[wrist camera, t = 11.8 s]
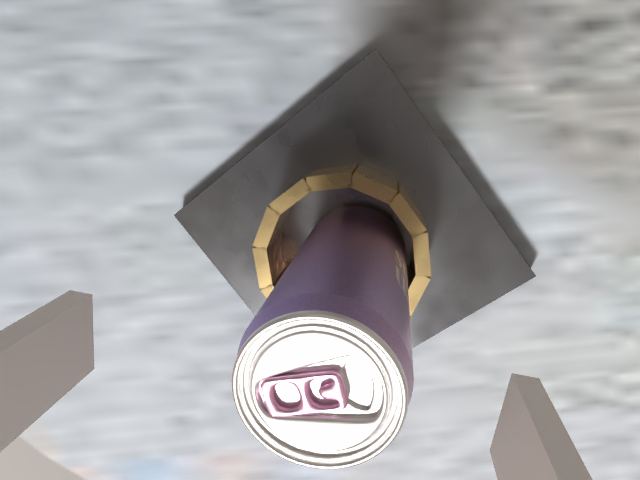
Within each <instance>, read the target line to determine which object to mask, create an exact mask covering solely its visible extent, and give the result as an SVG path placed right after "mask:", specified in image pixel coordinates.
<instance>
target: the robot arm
mask: <svg viewBox="0 0 640 480" xmlns="http://www.w3.org/2000/svg"><path fill="white" fill-rule="evenodd" d="M93 369H94V344H93V306H92V294H87V293H82V292H76V291H71V290H70V291H68V292H66V293H65V294H63V295H61V296H60V297H58V298H56V299H54V300H53V301H51V302H49V303H48V304H46V305H44V306H42V307H41V308H39V309H37V310H35V311H34V312H32V313H30V314H29V315H27V316H25V317H23V318H22V319H20V320H18V321H17V322H15V323H13V324H11V325H10V326H8V327H6V328H5V329H3V330H1V331H0V452H1V451H2V450H3V449H4V448H5V447H7V446H8V445H9V444H10V443H11V442H12V441H13V440H14V439H16V438H17V437H18V436H19V435H20V434H21V433H22V432H23V431H25V430H26V429H27V428H28V427H29V426H30V425H31V424H32V423H34V422H35V421H36V420H37V419H38V418H39V417H40V416H41V415H43V414H44V413H45V412H46V411H47V410H48V409H49V408H50V407H52V406H53V405H54V404H55V403H56V402H57V401H58V400H59V399H61V398H62V397H63V396H64V395H65V394H66V393H67V392H68V391H70V390H71V389H72V388H73V387H74V386H75V385H76V384H77V383H79V382H80V381H81V380H82V379H83V378H84V377H85V376H86V375H88V374H89V373H90V372H91V371H92V370H93ZM490 453H491V457H492V460H493V464H494V468H495V471H496V475H497V478H498V480H592V478H591V476H590V474H589V473H588V471H587V469H586V467H585V465H584V463H583V461H582V459H581V457H580V455H579V453H578V452H577V450H576V448H575V446H574V444H573V442H572V440H571V438H570V436H569V434H568V433H567V431H566V429H565V427H564V425H563V423H562V421H561V419H560V417H559V415H558V414H557V412H556V410H555V408H554V406H553V404H552V402H551V400H550V398H549V396H548V394H547V393H546V391H545V389H544V387H543V385H542V383H541V381H540V379H539V378H534V377H528V376H523V375H518V374H512V375H511V378H510V382H509V385H508V389H507V392H506V396H505V399H504V403H503V406H502V410H501V413H500V416H499V420H498V423H497V427H496V430H495V434H494V437H493V441H492V444H491V448H490Z"/></svg>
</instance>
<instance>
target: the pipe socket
mask: <svg viewBox="0 0 640 480" xmlns="http://www.w3.org/2000/svg"><path fill="white" fill-rule="evenodd" d="M348 206H362V207H368V208H371V209H374V210H376V211H378V212H380V213H382V214H384V215H385V216H386V217H388V218H389V219H390V220H391V221H392V222H393V223H394V224H395V225H396V227H397V228H398V229H399V231H400V233H401V235H402V237H403V240H404V243H405V248H406V262H407V279H408V295H409V311H410V328H411V344H412V348H413V347H415V346H417V345H419V344H420V343H422V342H424V341H425V340H427V339H429V338H431V337H432V336H434V335H436V334H437V333H439V332H441V331H443V330H444V329H446V328H448V327H449V326H451V325H453V324H455V323H456V322H458V321H460V320H462V319H463V318H465V317H467V316H468V315H470V314H472V313H474V312H475V311H477V310H479V309H480V308H482V307H484V306H486V305H487V304H489V303H491V302H492V301H494V300H496V299H498V298H499V297H501V296H503V295H505V294H506V293H508V292H510V291H511V290H513V289H515V288H517V287H518V286H520V285H522V284H523V283H525V282H527V281H529V280H530V279H532V278H534V277H535V276H536V275H535V274H534V273H533V271H532V270H531V268H530V267H529V265H528V264H527V263H526V261H525V260H524V258H523V257H522V255H521V254H520V253H519V251H518V250H517V248H516V247H515V246H514V244H513V243H512V241H511V240H510V238H509V237H508V236H507V234H506V233H505V231H504V230H503V228H502V227H501V226H500V224H499V223H498V221H497V220H496V219H495V217H494V216H493V214H492V213H491V211H490V210H489V209H488V207H487V206H486V204H485V203H484V201H483V200H482V199H481V197H480V196H479V194H478V193H477V192H476V190H475V189H474V187H473V186H472V184H471V183H470V182H469V180H468V179H467V177H466V176H465V175H464V173H463V172H462V170H461V169H460V167H459V166H458V165H457V163H456V162H455V160H454V159H453V157H452V156H451V155H450V153H449V152H448V150H447V149H446V148H445V146H444V145H443V143H442V142H441V140H440V139H439V138H438V136H437V135H436V133H435V132H434V130H433V129H432V128H431V126H430V125H429V123H428V122H427V121H426V119H425V118H424V116H423V115H422V113H421V112H420V111H419V109H418V108H417V106H416V105H415V104H414V102H413V101H412V99H411V98H410V96H409V95H408V94H407V92H406V91H405V89H404V88H403V86H402V85H401V84H400V82H399V81H398V79H397V78H396V77H395V75H394V74H393V72H392V71H391V69H390V68H389V67H388V65H387V64H386V62H385V61H384V59H383V58H382V57H381V55H380V54H379V52H378V51H377V50H376V49H374V50H373V51H372V52H371V53H370V54H368V55H367V56H366V57H365V58H364V59H362V60H361V61H360V62H359V63H357V64H356V65H355V66H354V67H353V68H351V69H350V70H349V71H348V72H347V73H345V74H344V75H343V76H342V77H341V78H339V79H338V80H337V81H336V82H334V83H333V84H332V85H331V86H330V87H328V88H327V89H326V90H325V91H324V92H322V93H321V94H320V95H319V96H318V97H316V98H315V99H314V100H313V101H311V102H310V103H309V104H308V105H307V106H305V107H304V108H303V109H302V110H301V111H299V112H298V113H297V114H296V115H295V116H293V117H292V118H291V119H290V120H288V121H287V122H286V123H285V124H284V125H282V126H281V127H280V128H279V129H278V130H276V131H275V132H274V133H273V134H272V135H270V136H269V137H268V138H267V139H265V140H264V141H263V142H262V143H261V144H259V145H258V146H257V147H256V148H255V149H253V150H252V151H251V152H250V153H249V154H247V155H246V156H245V157H244V158H242V159H241V160H240V161H239V162H238V163H236V164H235V165H234V166H233V167H232V168H230V169H229V170H228V171H227V172H226V173H224V174H223V175H222V176H221V177H219V178H218V179H217V180H216V181H215V182H213V183H212V184H211V185H210V186H209V187H207V188H206V189H205V190H204V191H203V192H201V193H200V194H199V195H198V196H196V197H195V198H194V199H193V200H192V201H190V202H189V203H188V204H187V205H186V206H184V207H183V208H182V209H181V210H180V211H178V212H177V213H176V214H175V215H174V216H175V217H176V218H177V219H178V221H179V222H180V223H181V224H182V226H183V227H184V228H185V229H186V231H187V232H188V233H189V234H190V235H191V237H192V238H193V239H194V240H195V242H196V243H197V244H198V245H199V247H200V248H201V249H202V250H203V252H204V253H205V254H206V255H207V257H208V258H209V259H210V260H211V262H212V263H213V264H214V265H215V266H216V268H217V269H218V270H219V271H220V273H221V274H222V275H223V276H224V278H225V279H226V280H227V281H228V283H229V284H230V285H231V286H232V288H233V289H234V290H235V291H236V292H237V294H238V295H239V296H240V297H241V299H242V300H243V301H244V302H245V304H246V305H247V306H248V307H249V309H250V310H251V311H252V312H253V314H254V315H255V316H256V314H257V313H258V311H259V310H260V308H261V307H262V305H263V304H264V302H265V301H266V299H267V298H268V296H269V295H270V293H271V292H272V290H273V288H274V287H275V285H276V284H277V282H278V281H279V279H280V278H281V276H282V275H283V273H284V272H285V270H286V269H287V267H288V266H289V264H290V263H291V261H292V260H293V258H294V257H295V255H296V254H297V252H298V251H299V249H300V248H301V246H302V245H303V243H304V242H305V240H306V239H307V237H308V236H309V234H310V233H311V231H312V230H313V228H314V227H315V225H316V224H317V223H318V222H319V221H320V220H321V219H322V218H323V217H324V216H325V215H327V214H328V213H330V212H332V211H334V210H336V209H339V208H342V207H348Z"/></svg>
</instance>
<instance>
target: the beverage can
mask: <svg viewBox="0 0 640 480" xmlns="http://www.w3.org/2000/svg"><path fill="white" fill-rule="evenodd" d="M413 381H414V377H413V360H412V344H411V328H410V311H409V295H408V279H407V262H406V248H405V243H404V240H403V237H402V235H401V233H400V231H399V229H398V228H397V227H396V225H395V224H394V223H393V222H392V221H391V220H390V219H389V218H388V217H386V216H385V215H384V214H382V213H380V212H378V211H376V210H374V209H371V208H368V207H362V206H348V207H342V208H339V209H336V210H334V211H332V212H330V213H328V214H327V215H325V216H324V217H323V218H322V219H321V220H320V221H319V222H318V223H317V224H316V225H315V227H314V228H313V230H312V231H311V233H310V234H309V236H308V237H307V239H306V240H305V242H304V243H303V245H302V246H301V248H300V249H299V251H298V252H297V254H296V255H295V257H294V258H293V260H292V261H291V263H290V264H289V266H288V267H287V269H286V270H285V272H284V273H283V275H282V276H281V278H280V279H279V281H278V282H277V284H276V285H275V287H274V288H273V290H272V292H271V293H270V295H269V296H268V298H267V299H266V301H265V302H264V304H263V305H262V307H261V308H260V310H259V311H258V313H257V314H256V316H255V317H254V319H253V320H252V322H251V323H250V325H249V326H248V328H247V329H246V331H245V333H244V335H243V337H242V340H241V342H240V346H239V349H238V355H237V358H236V361H235V364H234V368H233V374H232V391H233V397H234V401H235V405H236V408H237V410H238V413H239V415H240V417H241V419H242V421H243V422H244V424H245V425H246V427H247V428H248V430H249V431H250V432H251V433H252V434H253V436H254V437H255V438H256V439H257V440H258V441H259V442H260V443H261V444H263V445H264V446H265V447H266V448H268V449H269V450H270V451H272V452H273V453H275V454H277V455H278V456H280V457H282V458H284V459H286V460H289V461H291V462H294V463H296V464H299V465H303V466H307V467H312V468H319V469H339V468H346V467H351V466H355V465H358V464H361V463H363V462H366V461H368V460H370V459H372V458H374V457H375V456H377V455H378V454H380V453H381V452H382V451H383V450H385V449H386V448H387V447H388V446H389V445H390V444H391V443H392V442H393V440H394V439H395V438H396V436H397V435H398V433H399V432H400V430H401V428H402V426H403V423H404V421H405V418H406V414H407V409H408V405H409V402H410V399H411V396H412V391H413Z"/></svg>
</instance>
